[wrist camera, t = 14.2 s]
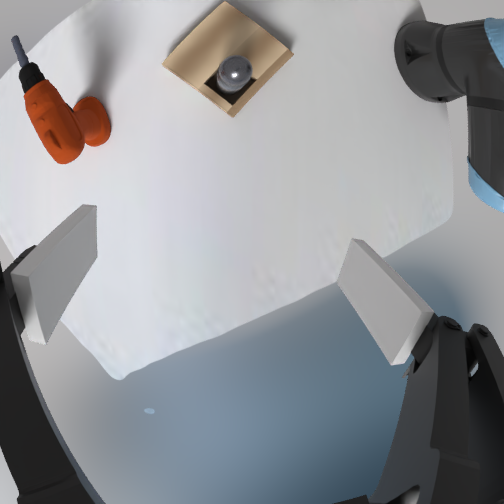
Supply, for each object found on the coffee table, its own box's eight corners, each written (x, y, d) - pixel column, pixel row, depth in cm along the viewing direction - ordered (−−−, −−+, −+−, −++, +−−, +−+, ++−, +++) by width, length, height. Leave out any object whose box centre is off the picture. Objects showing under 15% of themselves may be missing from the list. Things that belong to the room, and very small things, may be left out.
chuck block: (288, 58, 34) (294, 54, 32) (231, 117, 37) (233, 117, 35) (223, 8, 30) (224, 0, 27) (164, 67, 33) (161, 63, 30)
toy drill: (68, 33, 26) (17, 20, 14) (118, 133, 37) (84, 161, 24) (43, 52, 26) (-15, 50, 14) (92, 150, 37) (51, 185, 25)
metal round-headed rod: (247, 81, 35) (263, 66, 23) (230, 99, 36) (239, 91, 24) (227, 66, 34) (235, 44, 22) (211, 84, 35) (210, 69, 23)
